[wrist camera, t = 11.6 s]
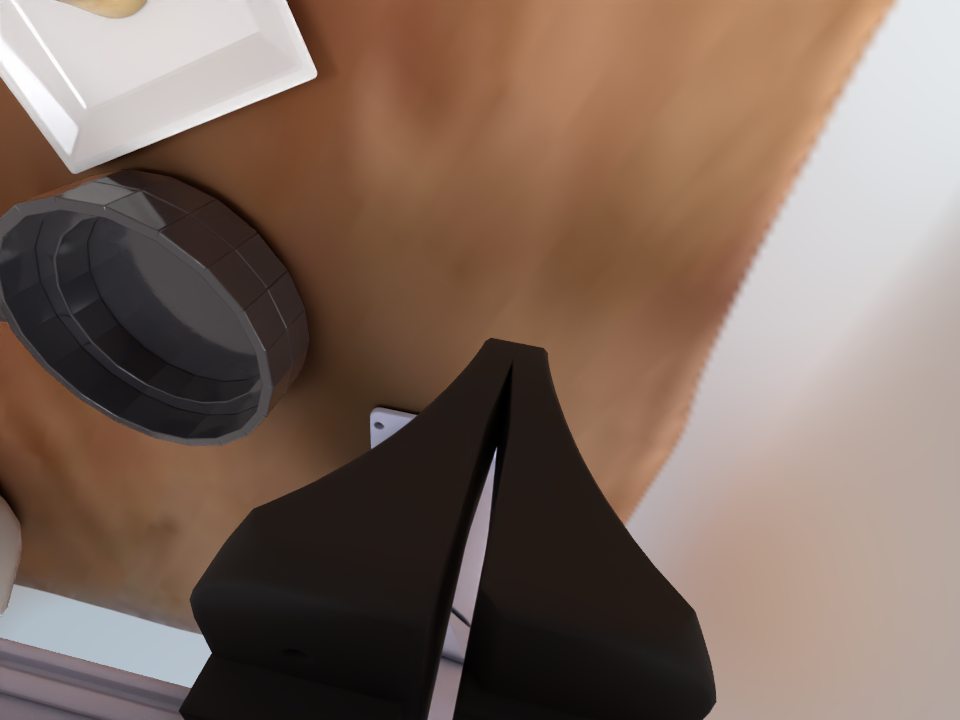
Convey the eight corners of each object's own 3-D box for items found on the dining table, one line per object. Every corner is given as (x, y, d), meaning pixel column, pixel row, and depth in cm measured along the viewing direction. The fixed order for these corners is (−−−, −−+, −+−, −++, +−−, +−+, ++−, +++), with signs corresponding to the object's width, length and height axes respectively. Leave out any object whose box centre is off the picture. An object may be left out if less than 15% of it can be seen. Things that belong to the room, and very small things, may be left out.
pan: (323, 413, 28) (288, 468, 24) (119, 369, 28) (59, 417, 25) (298, 193, 20) (242, 231, 17) (23, 145, 21) (-78, 172, 18)
